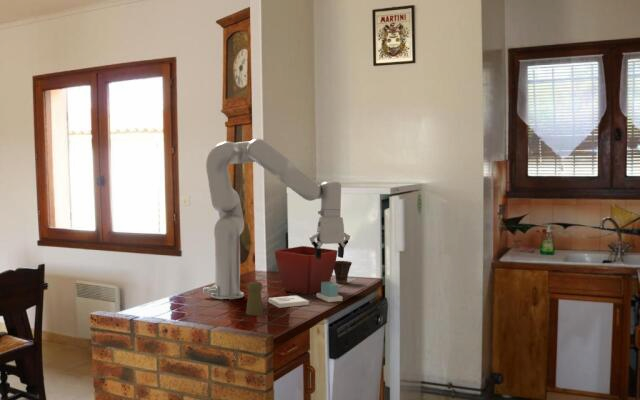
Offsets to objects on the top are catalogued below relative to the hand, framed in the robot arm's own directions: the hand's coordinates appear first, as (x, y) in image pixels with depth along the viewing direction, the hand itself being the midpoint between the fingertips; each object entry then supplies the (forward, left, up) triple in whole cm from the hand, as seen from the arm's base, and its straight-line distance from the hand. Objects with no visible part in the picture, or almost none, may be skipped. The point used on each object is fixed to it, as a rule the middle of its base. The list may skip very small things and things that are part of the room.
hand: (329, 257), depth 226 cm
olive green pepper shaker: (-34, -9, -16) cm, 39 cm away
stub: (0, 0, -16) cm, 16 cm away
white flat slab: (-17, 0, -16) cm, 23 cm away
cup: (+21, +27, -16) cm, 38 cm away
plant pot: (-1, +18, -16) cm, 24 cm away
